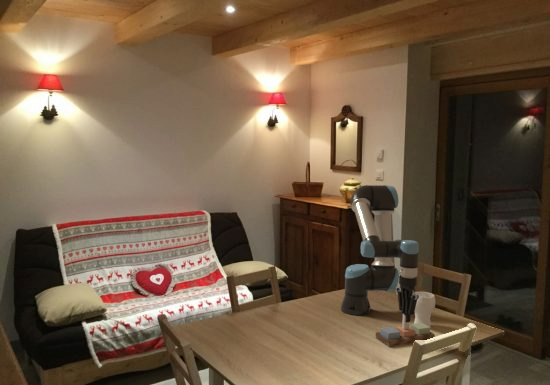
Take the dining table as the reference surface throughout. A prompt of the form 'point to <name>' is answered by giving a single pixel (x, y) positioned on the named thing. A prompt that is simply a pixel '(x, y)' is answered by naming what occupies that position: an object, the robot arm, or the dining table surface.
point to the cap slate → (389, 333)
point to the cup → (424, 308)
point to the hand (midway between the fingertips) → (405, 328)
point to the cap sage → (420, 328)
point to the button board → (403, 339)
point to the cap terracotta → (406, 331)
